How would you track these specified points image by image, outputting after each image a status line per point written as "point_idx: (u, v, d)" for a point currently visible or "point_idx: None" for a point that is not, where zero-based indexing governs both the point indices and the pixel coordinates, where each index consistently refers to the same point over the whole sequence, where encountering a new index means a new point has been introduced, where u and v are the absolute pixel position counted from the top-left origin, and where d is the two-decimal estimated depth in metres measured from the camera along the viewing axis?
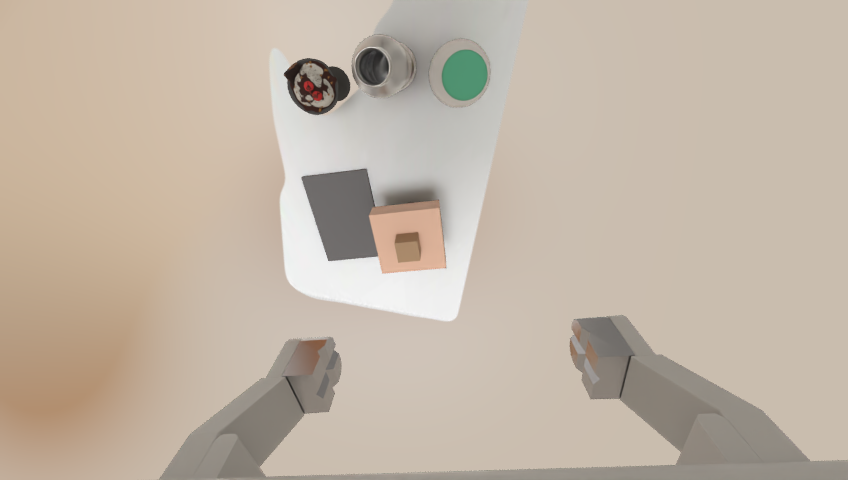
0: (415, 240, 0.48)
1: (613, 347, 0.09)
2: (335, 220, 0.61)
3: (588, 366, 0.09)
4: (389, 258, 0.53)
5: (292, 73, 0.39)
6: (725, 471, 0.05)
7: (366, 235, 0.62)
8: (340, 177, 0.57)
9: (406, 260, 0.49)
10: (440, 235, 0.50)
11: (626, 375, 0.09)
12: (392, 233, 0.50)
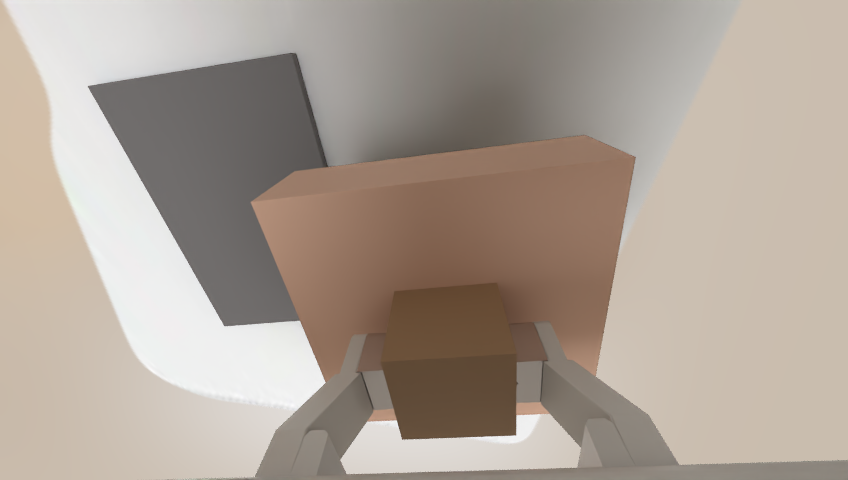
0: (503, 345, 0.08)
1: (529, 352, 0.09)
2: (222, 223, 0.21)
3: None
4: None
5: None
6: (725, 471, 0.05)
7: None
8: (212, 84, 0.17)
9: (444, 432, 0.10)
10: (599, 297, 0.11)
11: (542, 379, 0.09)
12: (376, 288, 0.11)
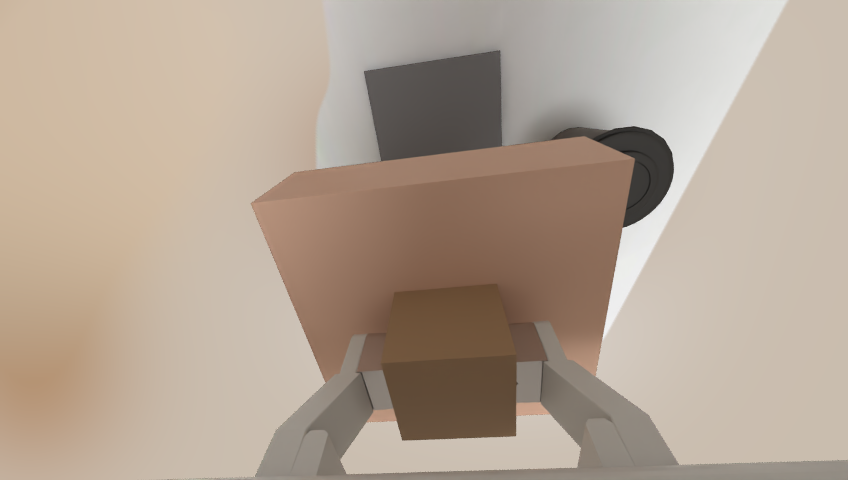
0: (503, 347, 0.08)
1: (529, 352, 0.09)
2: None
3: None
4: None
5: None
6: (725, 471, 0.05)
7: None
8: (444, 69, 0.28)
9: (444, 433, 0.10)
10: (599, 298, 0.11)
11: (542, 379, 0.09)
12: (377, 289, 0.11)
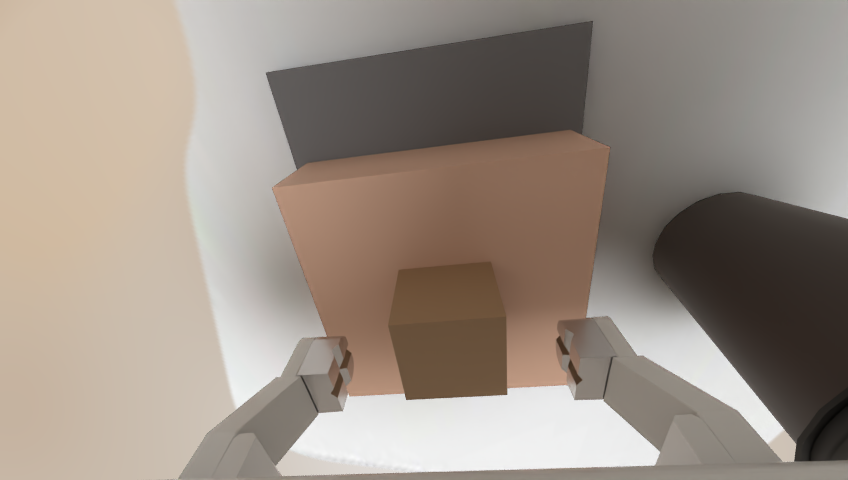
0: (495, 311, 0.09)
1: (595, 348, 0.09)
2: None
3: (572, 367, 0.09)
4: (370, 352, 0.14)
5: None
6: (725, 471, 0.05)
7: None
8: (454, 69, 0.12)
9: (443, 392, 0.11)
10: (582, 275, 0.12)
11: (608, 375, 0.09)
12: (383, 267, 0.12)
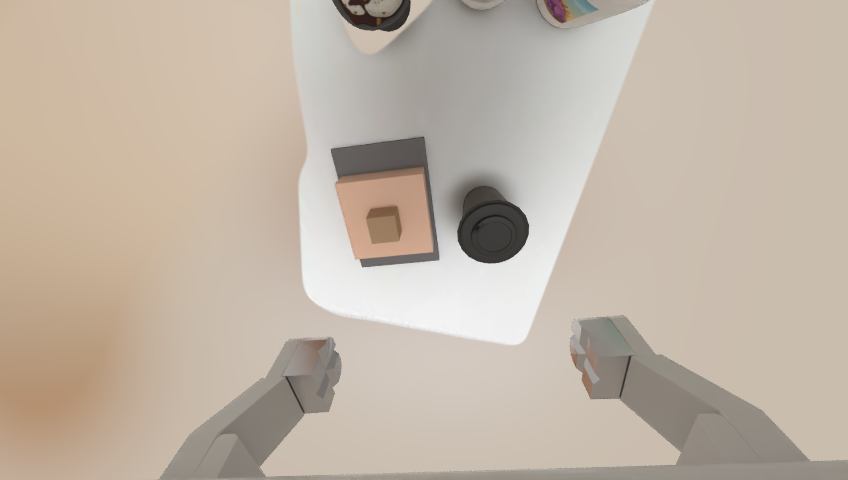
0: (392, 214, 0.38)
1: (613, 347, 0.09)
2: None
3: (588, 366, 0.09)
4: (362, 239, 0.42)
5: None
6: (725, 471, 0.05)
7: None
8: (386, 149, 0.40)
9: (382, 241, 0.39)
10: (424, 210, 0.40)
11: (626, 375, 0.09)
12: (365, 208, 0.40)
